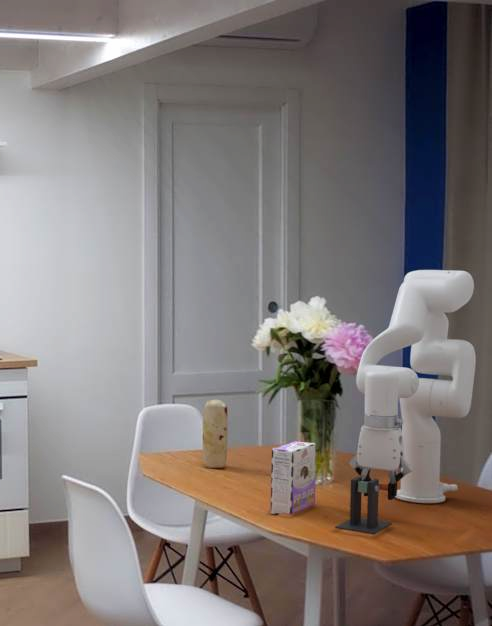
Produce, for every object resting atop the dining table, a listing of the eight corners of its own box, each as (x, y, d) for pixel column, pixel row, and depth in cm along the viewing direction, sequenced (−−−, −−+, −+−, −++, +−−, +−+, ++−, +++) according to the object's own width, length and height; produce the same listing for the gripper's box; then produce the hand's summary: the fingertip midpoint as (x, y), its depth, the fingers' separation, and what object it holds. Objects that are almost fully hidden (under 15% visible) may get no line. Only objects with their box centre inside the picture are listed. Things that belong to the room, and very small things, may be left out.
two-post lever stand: (354, 521, 254) (355, 472, 254) (391, 527, 249) (393, 477, 248) (334, 531, 245) (336, 481, 244) (373, 538, 240) (374, 486, 239)
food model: (232, 469, 316) (233, 402, 314) (213, 470, 313) (214, 403, 312) (215, 462, 325) (216, 397, 324) (196, 464, 322) (197, 398, 321)
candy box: (293, 503, 272) (295, 440, 271) (315, 507, 268) (317, 442, 267) (269, 514, 261) (270, 447, 260) (291, 517, 258) (293, 450, 257)
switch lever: (369, 489, 256) (370, 480, 256) (390, 492, 253) (391, 482, 253) (351, 490, 247) (352, 480, 247) (372, 494, 244) (373, 483, 244)
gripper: (422, 423, 251) (420, 499, 252) (351, 416, 262) (350, 489, 263) (412, 427, 245) (410, 505, 246) (340, 420, 256) (338, 494, 257)
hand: (379, 496), depth 254 cm, fingers closed on switch lever, 5 cm apart
